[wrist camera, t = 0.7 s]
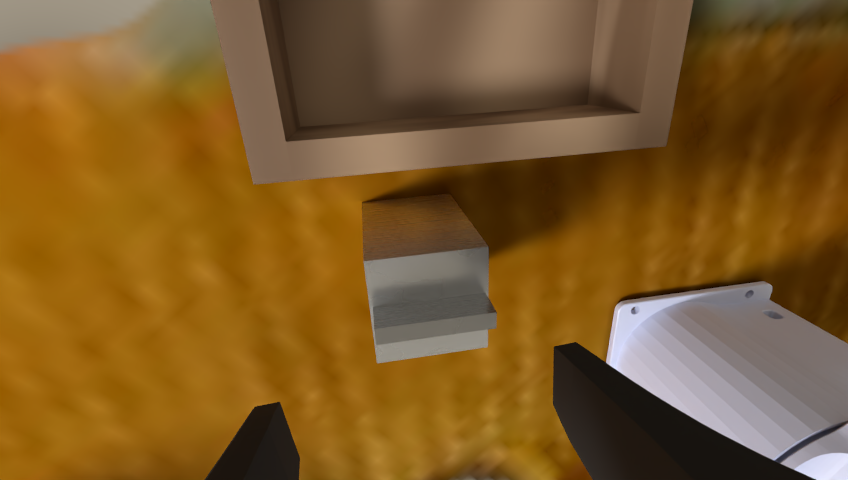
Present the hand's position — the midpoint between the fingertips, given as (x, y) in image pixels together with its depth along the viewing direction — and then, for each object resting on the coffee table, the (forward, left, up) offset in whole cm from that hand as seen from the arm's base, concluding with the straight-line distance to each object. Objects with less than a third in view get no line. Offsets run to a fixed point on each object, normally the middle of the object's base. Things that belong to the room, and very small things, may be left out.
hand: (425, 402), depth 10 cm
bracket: (-1, -1, -9) cm, 9 cm away
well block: (-3, -9, -9) cm, 13 cm away
